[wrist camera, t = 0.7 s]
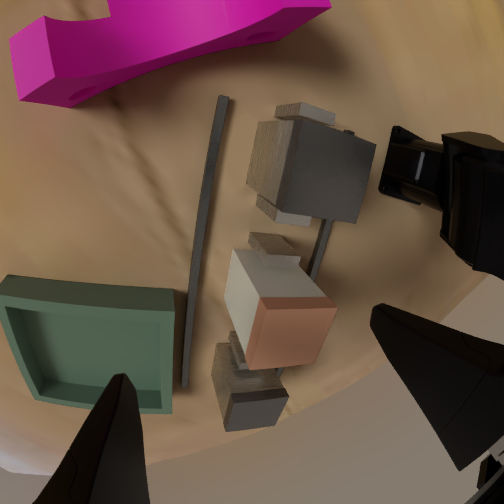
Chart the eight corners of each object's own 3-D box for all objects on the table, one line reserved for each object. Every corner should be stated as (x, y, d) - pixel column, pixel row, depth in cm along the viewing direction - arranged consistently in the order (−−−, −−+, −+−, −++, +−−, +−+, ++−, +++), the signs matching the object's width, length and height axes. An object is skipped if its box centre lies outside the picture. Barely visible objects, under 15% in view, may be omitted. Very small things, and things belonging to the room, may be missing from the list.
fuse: (287, 252, 23) (338, 307, 16) (274, 299, 24) (314, 362, 18) (232, 247, 21) (266, 309, 14) (223, 299, 23) (249, 370, 16)
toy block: (254, -23, 13) (294, -73, 6) (277, 41, 16) (331, 7, 9) (54, 38, 11) (7, 5, 4) (70, 108, 14) (19, 100, 7)
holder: (350, 129, 20) (414, 138, 14) (275, 378, 29) (299, 426, 23) (219, 93, 16) (247, 74, 10) (181, 384, 26) (190, 441, 20)
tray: (173, 289, 21) (174, 311, 19) (169, 391, 26) (172, 414, 23) (7, 274, 16) (-8, 293, 14) (40, 379, 21) (34, 399, 18)
